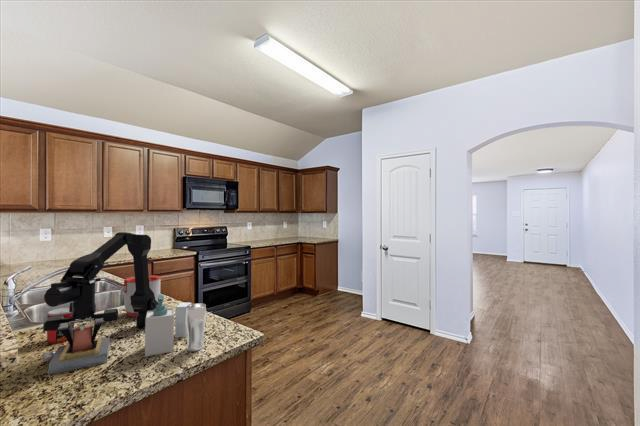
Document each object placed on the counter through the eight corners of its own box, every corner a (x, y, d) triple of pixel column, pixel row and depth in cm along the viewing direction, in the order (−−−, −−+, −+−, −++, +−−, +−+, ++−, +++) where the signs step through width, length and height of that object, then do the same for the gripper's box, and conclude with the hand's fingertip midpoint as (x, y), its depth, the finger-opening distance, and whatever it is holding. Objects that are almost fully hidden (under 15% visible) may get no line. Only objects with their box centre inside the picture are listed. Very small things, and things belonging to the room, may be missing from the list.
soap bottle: (144, 357, 98) (145, 300, 98) (146, 346, 105) (147, 293, 106) (173, 352, 102) (174, 297, 102) (172, 342, 109) (174, 291, 110)
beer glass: (209, 345, 107) (210, 304, 108) (196, 353, 101) (196, 309, 101) (194, 342, 110) (195, 302, 110) (180, 350, 103) (181, 307, 103)
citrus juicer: (115, 313, 140) (116, 272, 141) (155, 306, 152) (156, 268, 152) (121, 322, 129) (122, 277, 129) (164, 314, 141) (165, 272, 141)
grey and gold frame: (109, 346, 106) (110, 334, 106) (107, 362, 94) (107, 349, 94) (46, 357, 96) (46, 345, 96) (34, 377, 85) (35, 363, 85)
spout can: (92, 345, 99) (93, 319, 99) (91, 350, 95) (91, 324, 95) (73, 348, 97) (74, 322, 97) (71, 354, 92) (72, 327, 93)
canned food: (58, 345, 106) (58, 314, 106) (40, 342, 107) (41, 312, 108) (79, 336, 113) (80, 308, 113) (62, 334, 115) (63, 306, 115)
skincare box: (180, 331, 120) (181, 302, 120) (191, 331, 120) (191, 302, 120) (174, 337, 114) (175, 306, 114) (185, 337, 114) (186, 306, 114)
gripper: (119, 288, 108) (118, 331, 108) (51, 295, 98) (50, 342, 98) (117, 296, 99) (116, 342, 98) (43, 304, 89) (41, 355, 88)
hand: (82, 345), depth 96 cm, fingers closed on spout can, 5 cm apart
